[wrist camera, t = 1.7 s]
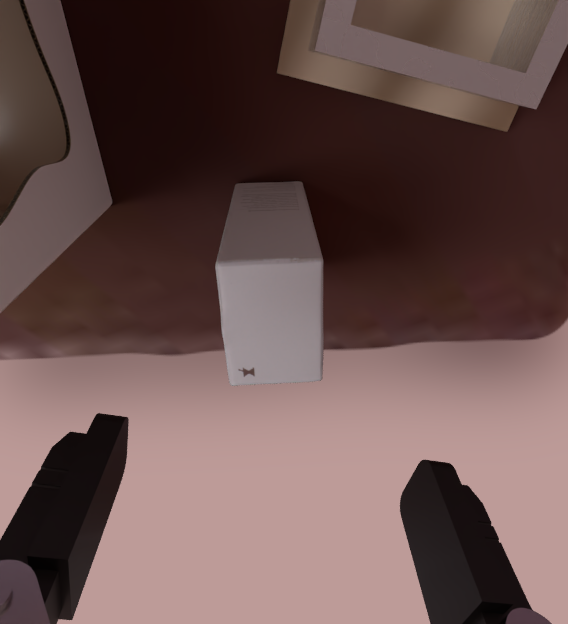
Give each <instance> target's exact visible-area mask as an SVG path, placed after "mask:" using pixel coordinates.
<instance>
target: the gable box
mask: <svg viewBox="0 0 568 624" xmlns="http://www.w3.org/2000/svg"><path fill="white" fill-rule="evenodd" d="M111 204H112V198H111V194H110V190H109V187H108V183H107V179H106V175H105V171H104V167H103V163H102V159H101V156H100V152H99V148H98V144H97V140H96V136H95V132H94V128H93V125H92V121H91V117H90V113H89V109H88V105H87V101H86V97H85V94H84V90H83V86H82V82H81V78H80V74H79V70H78V66H77V63H76V59H75V55H74V51H73V47H72V43H71V39H70V35H69V32H68V28H67V24H66V20H65V16H64V12H63V8H62V4H61V1H60V0H0V313H1V312H2V311H3V310H4V309H5V308H6V307H7V306H8V305H9V304H10V303H11V302H12V301H13V300H14V299H15V298H17V297H18V296H19V295H20V294H21V293H22V292H23V291H24V290H25V289H26V288H27V287H28V286H29V285H30V284H31V283H32V282H33V281H34V280H35V279H36V278H37V277H38V276H39V275H40V274H41V273H42V272H43V271H44V270H45V269H46V268H47V267H48V266H50V265H51V264H52V263H53V262H54V261H55V260H56V259H57V258H58V257H59V256H60V255H61V254H62V253H63V252H64V251H65V250H66V249H67V248H68V247H69V246H70V245H71V244H72V243H73V242H74V241H75V240H76V239H77V238H78V237H79V236H80V235H81V234H82V233H84V232H85V231H86V230H87V229H88V228H89V227H90V226H91V225H92V224H93V223H94V222H95V221H96V220H97V219H98V218H99V217H100V216H101V215H102V214H103V213H104V212H105V211H106V210H107V209H108V208H109V207H110V206H111Z"/></svg>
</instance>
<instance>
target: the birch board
mask: <svg viewBox="0 0 568 624" xmlns="http://www.w3.org/2000/svg"><path fill="white" fill-rule="evenodd" d="M318 1H319V0H290V4H289V9H288V15H287V20H286V25H285V31H284V36H283V41H282V46H281V52H280V57H279V62H278V68H277V73H278V74H282V75H286V76H290V77H294V78H298V79H302V80H306V81H309V82H313V83H317V84H321V85H325V86H329V87H333V88H337V89H341V90H345V91H349V92H353V93H356V94H360V95H364V96H368V97H372V98H376V99H380V100H384V101H388V102H392V103H396V104H400V105H403V106H407V107H411V108H415V109H419V110H423V111H427V112H431V113H435V114H439V115H443V116H447V117H450V118H454V119H458V120H462V121H466V122H470V123H474V124H478V125H482V126H486V127H490V128H494V129H497V130H501V131H505V132H507V131H508V129H509V127H510V125H511V122H512V120H513V118H514V116H515V114H516V111H517V109H518V107H519V106H518V105H514V104H509V103H505V102H500V101H496V100H492V99H488V98H484V97H481V96H477V95H473V94H469V93H465V92H462V91H458V90H454V89H450V88H447V87H443V86H439V85H435V84H432V83H428V82H424V81H420V80H416V79H413V78H409V77H405V76H401V75H398V74H394V73H390V72H386V71H383V70H379V69H375V68H371V67H367V66H364V65H360V64H356V63H352V62H349V61H345V60H341V59H337V58H334V57H330V56H326V55H322V54H318V53H315V52H311V51H308V48H309V43H310V38H311V34H312V29H313V24H314V20H315V15H316V11H317V6H318ZM514 1H515V0H357V1H356V5H355V9H354V13H353V17H352V21H351V25H353V26H357V27H361V28H364V29H368V30H371V31H375V32H379V33H382V34H386V35H389V36H393V37H397V38H400V39H404V40H407V41H411V42H415V43H418V44H422V45H425V46H429V47H433V48H436V49H440V50H443V51H447V52H451V53H454V54H458V55H461V56H465V57H469V58H472V59H476V60H479V61H483V62H487V63H489V62H490V60H491V57H492V55H493V53H494V50H495V48H496V45H497V43H498V40H499V38H500V35H501V33H502V30H503V28H504V25H505V23H506V21H507V18H508V16H509V13H510V11H511V8H512V6H513V3H514Z"/></svg>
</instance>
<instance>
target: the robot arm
mask: <svg viewBox="0 0 568 624" xmlns="http://www.w3.org/2000/svg"><path fill="white" fill-rule="evenodd" d="M127 439H128V418H127V417H122V416H115V415H108V414H100V413H98V414H97V415H96V416H95V418H94V420H93V422H92V424H91V426H90V428H89V430H88V432H87V434H84V433H76V432H69V433H68V434H67V435H66V436H65V437H63V438H62V439H61V440H60V441H59V442H58V443H56V444H55V445H54V446H53V447H52V448H51V450H50V452H49V454H48V456H47V457H46V459H45V461H44V463H43V465H42V466H41V470H40V471H39V472H38V473H37V475H36V477H35V479H34V481H33V482H32V486H31V487H30V488H29V490H28V491H27V493H26V495H25V497H24V499H23V500H22V502H21V504H20V506H19V508H18V509H17V511H16V513H15V515H14V516H13V518H12V520H11V522H10V524H9V525H8V527H7V529H6V531H5V533H4V535H3V536H2V538H1V540H0V624H57V621H58V619H66V620H72V619H73V616H74V613H75V610H76V607H77V605H78V602H79V599H80V596H81V593H82V590H83V588H84V585H85V582H86V579H87V577H88V574H89V571H90V568H91V565H92V562H93V560H94V557H95V554H96V551H97V548H98V545H99V543H100V540H101V537H102V534H103V531H104V528H105V526H106V523H107V520H108V517H109V514H110V511H111V509H112V506H113V503H114V500H115V497H116V494H117V492H118V489H119V486H120V483H121V480H122V477H123V473H124V469H125V464H126V458H127ZM400 512H401V517H402V521H403V525H404V528H405V532H406V535H407V539H408V543H409V547H410V550H411V554H412V557H413V561H414V565H415V568H416V572H417V576H418V579H419V583H420V587H421V590H422V594H423V598H424V601H425V605H426V609H427V612H428V616H429V619H430V623H431V624H551V623H550V622H549V621H548V620H547V619H546V618H545V617H543V616H542V615H540V614H538V613H537V612H535V611H533V610H532V608H531V607H530V605H529V603H528V601H527V599H526V596H525V594H524V592H523V590H522V588H521V585H520V583H519V581H518V579H517V577H516V575H515V573H514V571H513V568H512V566H511V564H510V562H509V560H508V557H507V556H506V553H505V551H504V549H503V547H502V544H501V543H499V541H498V540H499V538H498V536H497V534H496V531H495V529H494V527H493V526H491V521H490V518H489V517H488V514H487V512H486V510H485V508H484V506H483V503H482V502H481V501H480V500H479V498H478V497H477V496H476V495H475V494H474V492H473V491H472V490H471V489H470V488H469V486H467V485H462V484H461V482H460V480H459V477H458V475H457V473H456V470H455V468H454V467H453V466H452V465H451V464H450V463H445V462H438V461H430V460H422V461H421V462H420V463H419V464H418V466H417V468H416V470H415V471H414V473H413V475H412V477H411V479H410V480H409V482H408V484H407V485H406V487H405V489H404V491H403V493H402V496H401V500H400Z"/></svg>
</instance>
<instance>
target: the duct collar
mask: <svg viewBox="0 0 568 624" xmlns="http://www.w3.org/2000/svg"><path fill="white" fill-rule="evenodd" d="M356 1H357V0H319V1H318V6H317V11H316V15H315V20H314V24H313V29H312V34H311V38H310V43H309V48H308V51H311V52H315V53H318V54H322V55H326V56H330V57H334V58H337V59H341V60H345V61H349V62H352V63H356V64H360V65H364V66H367V67H371V68H375V69H379V70H383V71H386V72H390V73H394V74H398V75H401V76H405V77H409V78H413V79H416V80H420V81H424V82H428V83H432V84H435V85H439V86H443V87H447V88H450V89H454V90H458V91H462V92H465V93H469V94H473V95H477V96H481V97H484V98H488V99H492V100H496V101H500V102H505V103H509V104H514V105H518V106H523V107H527V108H532V109H537V107H538V105H539V103H540V101H541V99H542V97H543V94H544V92H545V90H546V88H547V86H548V84H549V82H550V80H551V78H552V76H553V74H554V71H555V69H556V67H557V65H558V63H559V61H560V59H561V57H562V55H563V53H564V51H565V48H566V46H567V44H568V0H515V1H514V3H513V6H512V8H511V11H510V13H509V16H508V18H507V21H506V23H505V25H504V28H503V30H502V33H501V35H500V38H499V40H498V43H497V45H496V48H495V50H494V53H493V55H492V57H491V60H490V62H489V63H487V62H483V61H479V60H476V59H472V58H469V57H465V56H461V55H458V54H454V53H451V52H447V51H443V50H440V49H436V48H433V47H429V46H425V45H422V44H418V43H415V42H411V41H407V40H404V39H400V38H397V37H393V36H389V35H386V34H382V33H379V32H375V31H371V30H368V29H364V28H361V27H357V26H353V25H351V21H352V17H353V13H354V9H355V5H356Z"/></svg>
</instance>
